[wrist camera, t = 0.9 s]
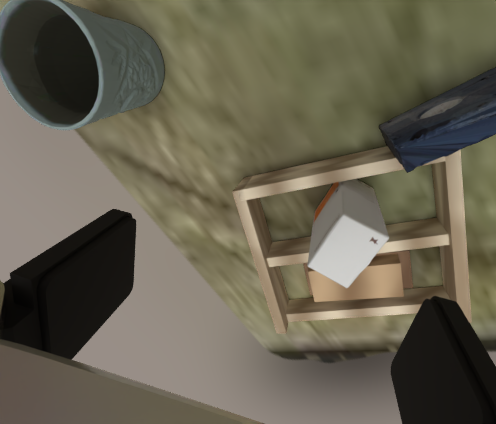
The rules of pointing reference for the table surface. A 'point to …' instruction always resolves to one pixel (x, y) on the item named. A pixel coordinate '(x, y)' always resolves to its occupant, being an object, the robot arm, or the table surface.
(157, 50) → the teal cylindrical cup
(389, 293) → the upper offcut
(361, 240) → the skincare box
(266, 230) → the offcut rack
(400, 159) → the vhs cassette tape
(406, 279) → the block
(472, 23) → the table surface
